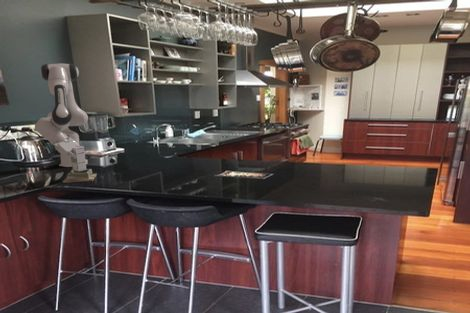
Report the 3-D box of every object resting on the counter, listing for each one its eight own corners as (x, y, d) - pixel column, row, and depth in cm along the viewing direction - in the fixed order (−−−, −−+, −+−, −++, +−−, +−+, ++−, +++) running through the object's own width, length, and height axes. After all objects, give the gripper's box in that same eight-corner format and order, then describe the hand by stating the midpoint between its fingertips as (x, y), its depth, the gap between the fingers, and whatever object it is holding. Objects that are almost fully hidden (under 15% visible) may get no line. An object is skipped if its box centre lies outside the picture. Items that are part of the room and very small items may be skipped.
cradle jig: (69, 176, 204) (68, 169, 203) (96, 175, 207) (96, 168, 206) (63, 182, 191) (62, 175, 190) (92, 180, 194) (91, 173, 193)
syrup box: (86, 169, 199) (84, 146, 196) (78, 171, 194) (75, 147, 191) (80, 168, 202) (78, 145, 199) (71, 170, 196) (69, 146, 194)
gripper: (55, 139, 183) (75, 155, 186) (70, 134, 203) (88, 149, 206) (48, 147, 184) (68, 163, 186) (63, 141, 204) (81, 156, 206)
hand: (79, 156), depth 196 cm, fingers closed on syrup box, 8 cm apart
